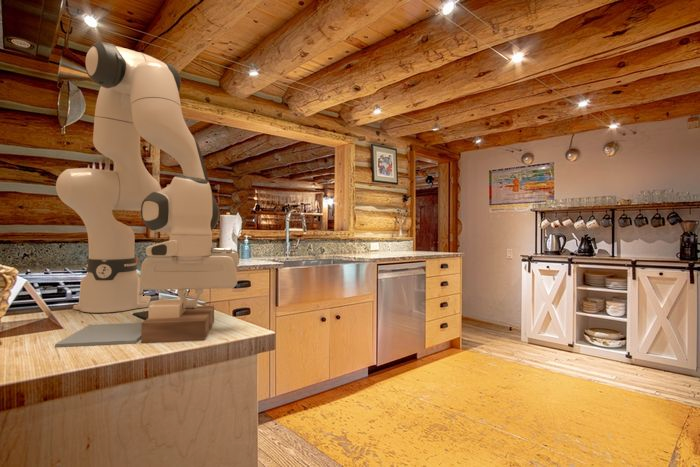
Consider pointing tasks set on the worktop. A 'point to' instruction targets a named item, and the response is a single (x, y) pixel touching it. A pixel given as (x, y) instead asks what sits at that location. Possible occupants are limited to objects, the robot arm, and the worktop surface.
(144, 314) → the smartphone
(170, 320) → the brown flat wooden block
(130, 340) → the mat
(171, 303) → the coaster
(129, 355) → the worktop surface
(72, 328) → the worktop surface
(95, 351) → the worktop surface
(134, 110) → the robot arm
